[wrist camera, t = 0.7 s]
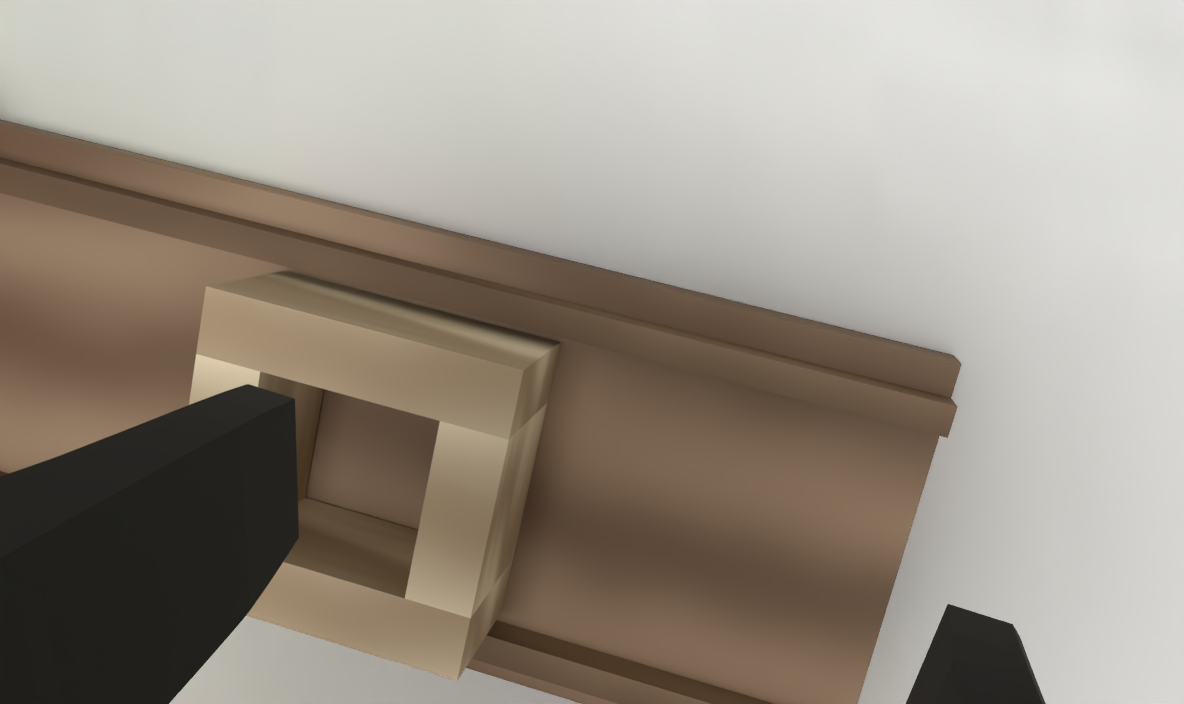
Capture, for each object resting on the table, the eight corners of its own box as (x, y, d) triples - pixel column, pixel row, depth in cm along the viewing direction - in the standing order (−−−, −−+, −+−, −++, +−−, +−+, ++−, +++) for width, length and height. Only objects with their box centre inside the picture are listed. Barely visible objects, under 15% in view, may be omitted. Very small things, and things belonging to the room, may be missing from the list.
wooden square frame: (501, 613, 29) (457, 680, 25) (242, 535, 30) (162, 589, 26) (560, 342, 28) (523, 370, 24) (284, 270, 29) (205, 286, 25)
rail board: (831, 756, 29) (845, 938, 22) (-83, 477, 34) (-312, 557, 27) (953, 355, 27) (1011, 420, 20) (-51, 107, 31) (-294, 88, 24)
